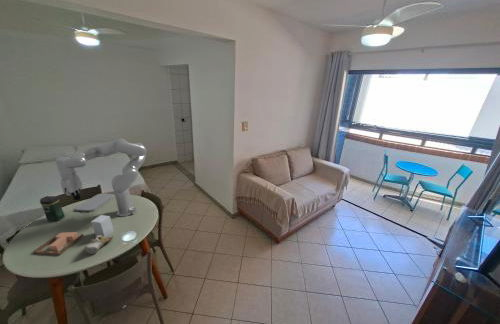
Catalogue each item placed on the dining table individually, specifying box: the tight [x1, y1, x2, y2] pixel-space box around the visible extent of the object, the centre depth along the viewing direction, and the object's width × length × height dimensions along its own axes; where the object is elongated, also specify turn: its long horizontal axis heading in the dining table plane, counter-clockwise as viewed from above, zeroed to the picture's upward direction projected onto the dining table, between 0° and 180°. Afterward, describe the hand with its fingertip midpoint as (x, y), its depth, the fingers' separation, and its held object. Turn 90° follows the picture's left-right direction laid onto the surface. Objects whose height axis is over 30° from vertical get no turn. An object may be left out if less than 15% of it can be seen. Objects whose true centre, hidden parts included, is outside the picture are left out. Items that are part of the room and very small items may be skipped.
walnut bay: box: [32, 233, 85, 256], centre depth 120 cm, size 16×16×2 cm
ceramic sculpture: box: [84, 235, 114, 255], centre depth 118 cm, size 11×9×15 cm
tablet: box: [74, 193, 115, 213], centre depth 165 cm, size 16×26×2 cm, turn 176°
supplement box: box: [91, 214, 115, 239], centre depth 128 cm, size 7×7×13 cm
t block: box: [48, 231, 79, 252], centre depth 120 cm, size 10×12×4 cm
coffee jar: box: [39, 195, 66, 222], centre depth 141 cm, size 10×8×19 cm
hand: (77, 199), depth 132 cm, fingers closed
